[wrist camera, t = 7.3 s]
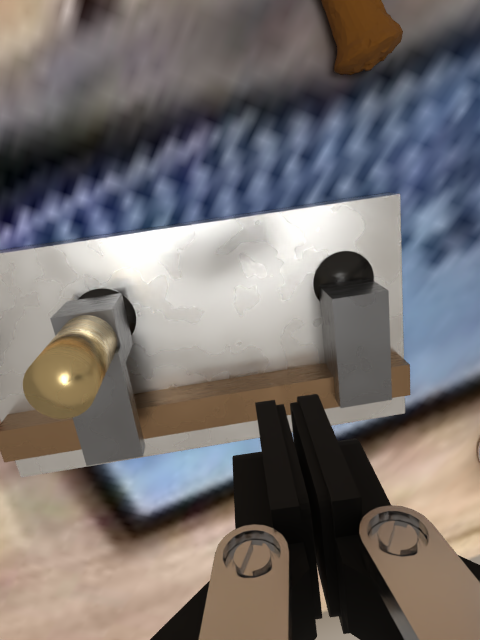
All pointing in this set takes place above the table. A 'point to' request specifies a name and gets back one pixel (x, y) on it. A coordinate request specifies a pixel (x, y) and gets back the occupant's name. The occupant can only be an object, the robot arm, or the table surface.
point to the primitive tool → (361, 33)
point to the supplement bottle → (479, 451)
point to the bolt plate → (218, 323)
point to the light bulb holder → (89, 378)
